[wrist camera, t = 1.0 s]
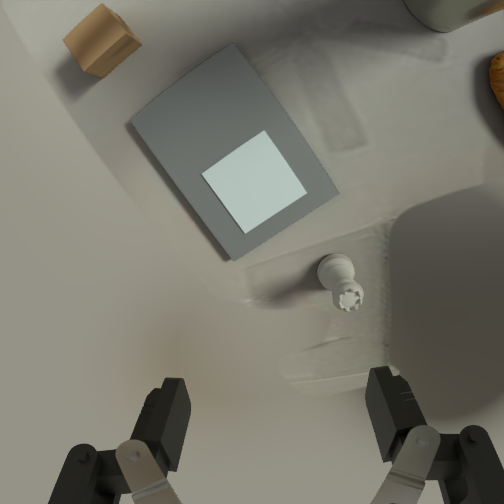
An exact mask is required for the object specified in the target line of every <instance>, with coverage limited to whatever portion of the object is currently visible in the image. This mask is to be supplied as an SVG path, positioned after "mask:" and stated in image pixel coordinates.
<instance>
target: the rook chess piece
mask: <svg viewBox="0 0 504 504" xmlns="http://www.w3.org/2000/svg"><path fill="white" fill-rule="evenodd" d="M354 274H355V273H354V266H353V265H352V262H351V261H350V259H349V258H348V257H346V256H345V255H343V254H332V255H328V256H327V257H325V258H324V259H323V260H322V261H321V262H320V264H319V265H318V270H317V275H318V279H319V280H320V282H321V284H322V285H323V286H324V287H325V288H327V289H328V290H330V291H332V294H333V303H334V305H335V306H336V307H337V308H338V309H340V310H344V311H345V312H350V310H352V309H354V311H355V310H357V309H358V306H359V304H362V301H363V296H364V294H363V289H362V288H361V286H360V285H359V284H357V283H356V282H355V281H354V280H353V278H354Z"/></svg>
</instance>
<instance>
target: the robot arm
mask: <svg viewBox="0 0 504 504" xmlns="http://www.w3.org/2000/svg"><path fill="white" fill-rule="evenodd" d="M404 2H405V4H406V6H407V8H408V9H409V10H410V12H411V13H412V14H413V15H414V16H415V17H416V18H417V19H418V20H419V21H420V22H422V23H423V24H424V25H426V26H427V27H429V28H431V29H433V30H436V31H440V32H451V31H454V30H456V29H458V28H460V27H462V26H465V25H467V24H469V23H472V22H474V21H476V20H478V19H481V18H483V17H485V16H488V15H490V14H493V13H495V12H498V11H500V10H503V9H504V0H404ZM365 400H366V406H367V409H368V412H369V416H370V419H371V422H372V425H373V429H374V432H375V435H376V439H377V442H378V446H379V449H380V453H381V456H382V460H383V462H388V461H391V462H392V465H393V466H392V468H391V470H390V471H389V473H388V475H387V476H386V478H385V480H384V482H383V483H382V485H381V487H380V489H379V490H378V492H377V494H376V496H375V497H374V499H373V500H372V502H371V504H416V503H417V502H418V499H419V497H420V495H421V493H422V491H423V489H424V486H425V480H438V482H439V486H440V489H441V493H442V497H443V501H444V504H504V469H503V467H502V464H501V462H500V460H499V458H498V455H497V453H496V451H495V448H494V446H493V444H492V442H491V439H490V437H489V435H488V433H487V432H486V430H485V429H484V428H482V427H480V426H476V425H471V426H467V427H465V428H464V429H463V430H462V431H461V432H460V434H440V433H439V432H438V431H437V430H436V429H435V428H433V427H431V426H428V425H427V423H426V421H425V419H424V416H423V414H422V412H421V410H420V408H419V405H418V404H417V401H416V399H415V397H414V395H413V393H412V391H411V388H410V386H409V384H408V382H407V381H405V380H404V379H403V378H402V377H401V376H400V375H398V376H393V375H392V373H391V371H390V368H389V367H388V366H382V367H376V368H371V369H370V372H369V378H368V383H367V388H366V393H365ZM190 414H191V402H190V399H189V395H188V392H187V389H186V385H185V382H184V379H183V378H165V379H164V382H163V384H162V387H161V389H160V388H155V389H153V390H152V391H151V392H150V394H148V396H147V398H146V400H145V403H144V406H143V407H142V410H141V414H140V415H139V417H138V420H137V422H136V425H135V427H134V430H133V433H132V435H131V438H130V440H128V441H125V442H123V443H121V444H120V445H119V446H118V448H117V449H115V450H106V451H96V449H95V448H94V447H93V446H91V445H89V444H79V445H77V446H74V447H73V448H72V449H71V450H70V451H69V453H68V455H67V458H66V460H65V462H64V465H63V467H62V470H61V472H60V474H59V477H58V479H57V482H56V484H55V487H54V489H53V492H52V495H51V497H50V500H49V502H48V504H119V500H120V497H121V494H128V493H132V494H133V495H132V499H133V501H134V503H135V504H182V502H181V501H180V499H179V498H178V497H177V495H176V493H175V492H174V490H173V488H172V487H171V485H170V484H169V482H168V480H167V479H166V478H167V474H168V471H173V472H176V471H177V468H178V464H179V459H180V455H181V451H182V446H183V443H184V439H185V435H186V431H187V427H188V422H189V418H190Z"/></svg>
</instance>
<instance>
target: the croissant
mask: <svg viewBox="0 0 504 504" xmlns="http://www.w3.org/2000/svg"><path fill="white" fill-rule="evenodd" d="M489 79H490V86H491V88H492V89H493V91H494V93H495V96H496V98H497V100H498V102H499V103H500V104H501V106H502V108H503V110H504V51H502V52H500V53H498V54H497V55H496V56H495V58H494V59H492V61H491V68H490V70H489Z"/></svg>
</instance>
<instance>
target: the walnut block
mask: <svg viewBox="0 0 504 504" xmlns="http://www.w3.org/2000/svg"><path fill="white" fill-rule="evenodd" d="M63 41H64V43H65V44H66V46H67V47H68V49H69V50H70V52H71V53H72V55H73V56H74V58H75V59H76V61H77V62H78V64H79V65H80V67H81V68H82V69H83V71H84V72H87V73H90V74H94V75H97V76H100V77H103V78H105V77H106V76H107V75H108V74H109V73H110V72H111V71H112V70H113V69H114V68H115V67H117V66H118V65H119V64H120V63H121V62H122V61H123V60H125V59H126V58H127V57H128V56H129V55H130V54H132V53H133V52H134V51H135V50H137V49H138V48H139V47H140V46H141V45H142V44H141V42H140V41H139V40H138V39H137V37H136V36H135V35H134V34H133V32H132V31H131V30H130V29H129V27H128V26H127V25H126V24H125V23H124V21H123V20H122V19H121V18H120V16H118V15H117V14H116V13H114V12H113V11H112V10H110V9H109V8H108V7H106V6H105V5H104V4H102V3H101V4H100V5H99V6H98V7H97V8H96V9H94V10H93V11H92V12H91V13H90V14H89V15H88V16H87V17H86V18H84V19H83V20H82V21H81V22H80V23H79V24H78V25H77V26H76V27H75V28H74V29H73V30H72V31H71V32H70V33H69V34H68V35H67V36H66V37H65V38H64V39H63Z"/></svg>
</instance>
